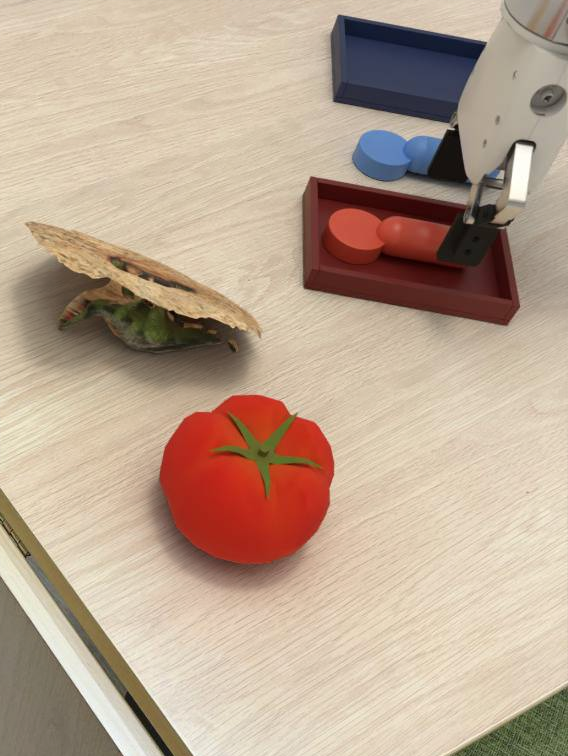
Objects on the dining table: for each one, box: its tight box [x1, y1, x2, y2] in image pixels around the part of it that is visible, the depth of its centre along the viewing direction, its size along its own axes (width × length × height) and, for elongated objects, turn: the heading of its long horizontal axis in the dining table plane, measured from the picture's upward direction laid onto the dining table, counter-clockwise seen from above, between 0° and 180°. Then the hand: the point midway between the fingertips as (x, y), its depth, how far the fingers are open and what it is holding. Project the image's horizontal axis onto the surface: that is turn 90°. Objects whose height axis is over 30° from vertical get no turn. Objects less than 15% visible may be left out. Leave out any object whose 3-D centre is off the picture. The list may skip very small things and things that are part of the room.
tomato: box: [158, 394, 335, 565], centre depth 62 cm, size 11×11×8 cm
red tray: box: [302, 175, 521, 326], centre depth 80 cm, size 16×11×2 cm
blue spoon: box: [352, 129, 502, 184], centre depth 86 cm, size 12×5×3 cm, turn 82°
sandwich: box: [24, 221, 266, 355], centre depth 71 cm, size 18×14×8 cm
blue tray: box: [330, 13, 488, 124], centre depth 93 cm, size 16×11×2 cm
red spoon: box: [322, 208, 471, 268], centre depth 79 cm, size 12×5×3 cm, turn 82°
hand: (450, 218), depth 77 cm, fingers open, 9 cm apart
